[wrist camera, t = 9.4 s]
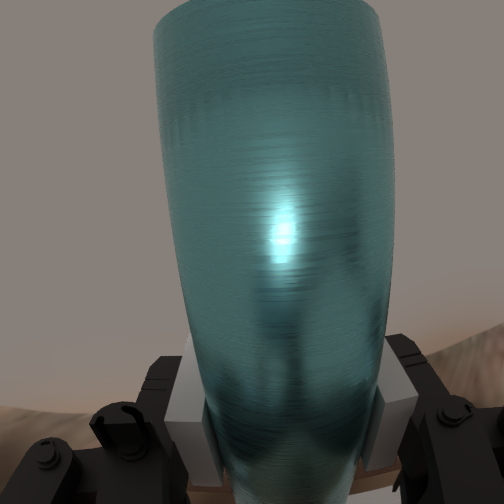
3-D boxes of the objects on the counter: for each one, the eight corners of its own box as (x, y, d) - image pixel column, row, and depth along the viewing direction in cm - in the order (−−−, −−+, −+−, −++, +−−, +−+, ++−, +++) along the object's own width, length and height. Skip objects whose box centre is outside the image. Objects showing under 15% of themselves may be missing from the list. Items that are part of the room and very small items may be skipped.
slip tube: (462, 476, 12) (562, 105, 6) (483, 524, 8) (646, 114, 2) (152, 516, 13) (-4, 125, 6) (141, 572, 9) (-111, 137, 3)
